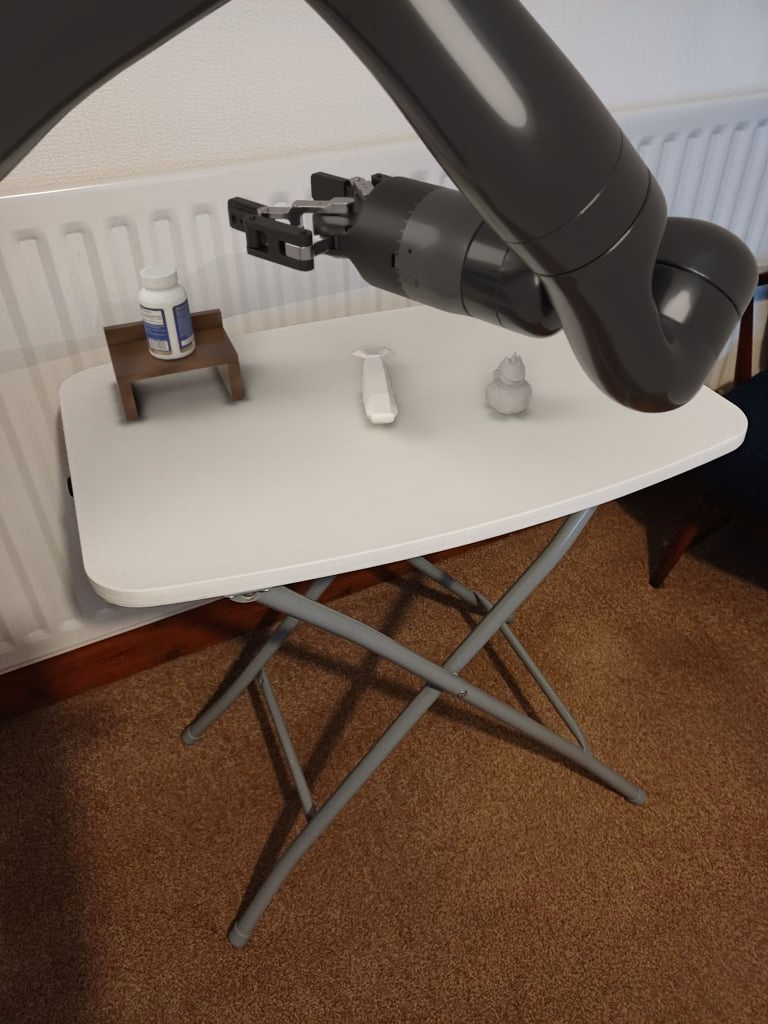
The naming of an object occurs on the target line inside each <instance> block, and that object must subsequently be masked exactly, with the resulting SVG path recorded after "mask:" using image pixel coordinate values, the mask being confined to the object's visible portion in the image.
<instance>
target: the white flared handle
mask: <svg viewBox="0 0 768 1024" xmlns="http://www.w3.org/2000/svg"><path fill="white" fill-rule="evenodd" d="M394 353H395V351H394V350H392V349H390V348H388V347H386V346H373V347H372V346H371V347H358V348H357V349H355V350H353V351H351V353H350V355H351V356H353V357H357V358H359V359H363V360H364V361H363V363H362V379H361V392H362V393H361V394H362V401H363V406H364V410H365V415H366V417H367V418H368V419H369V420H370V422H371V423H372V424H373V425H379V424H380V425H381V424H390V423H393V422H394V420H395V418H396V416H397V415H398V414H399V409H398V404H397V402H396V400H395V396H394V392H393V388H392V383H391V381H390V377H389V373H388V370H387V366H386V363H385V361H384V360H383V358H386V357H388V356H390V355H393V354H394Z"/></svg>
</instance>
